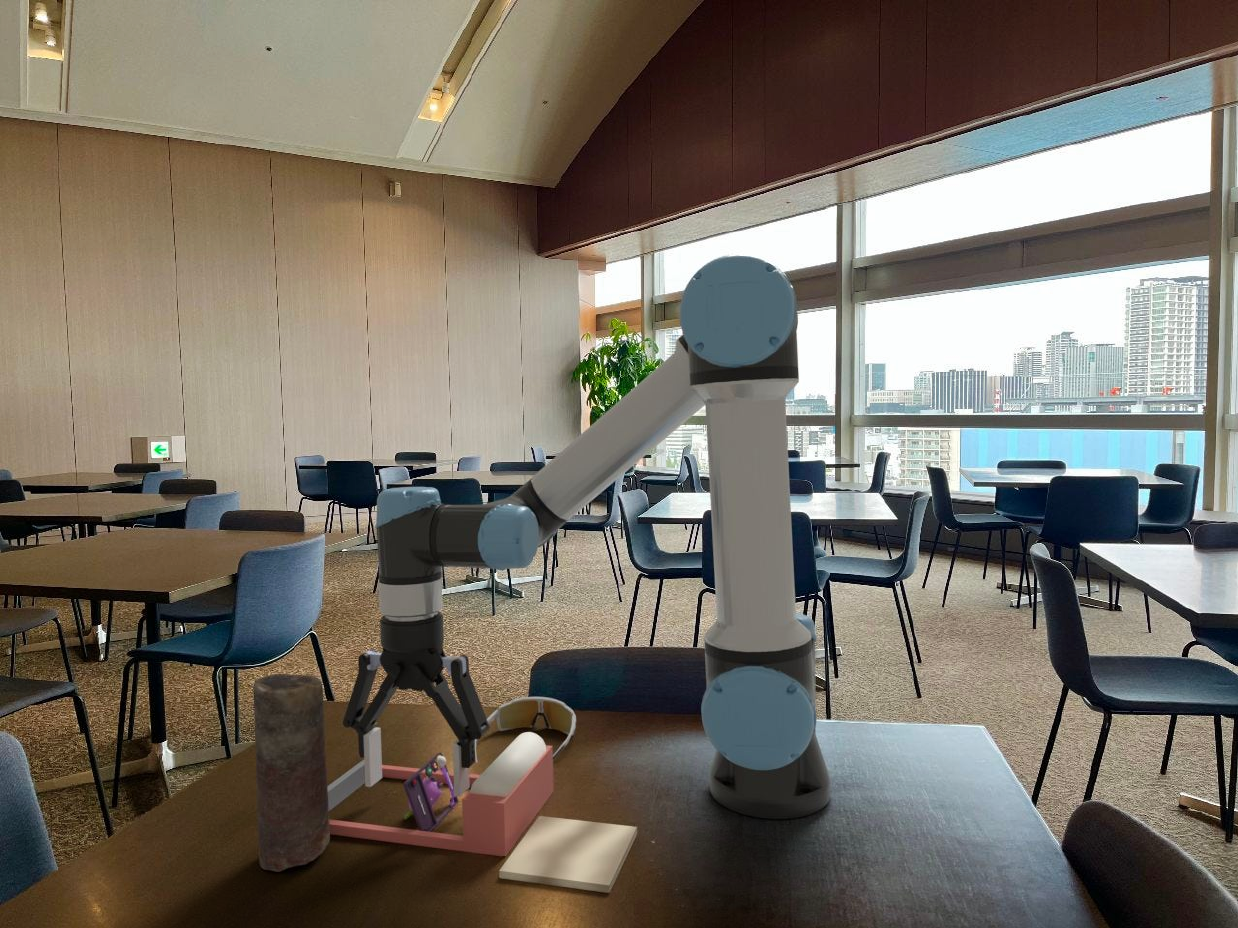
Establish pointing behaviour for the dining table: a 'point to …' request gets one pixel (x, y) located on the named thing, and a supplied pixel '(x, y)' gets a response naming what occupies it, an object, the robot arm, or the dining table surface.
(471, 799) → the frame
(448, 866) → the dining table surface
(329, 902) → the dining table surface
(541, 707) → the sunglasses
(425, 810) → the purple toy
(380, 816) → the dining table surface
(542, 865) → the plate
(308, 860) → the brown stone cylinder
